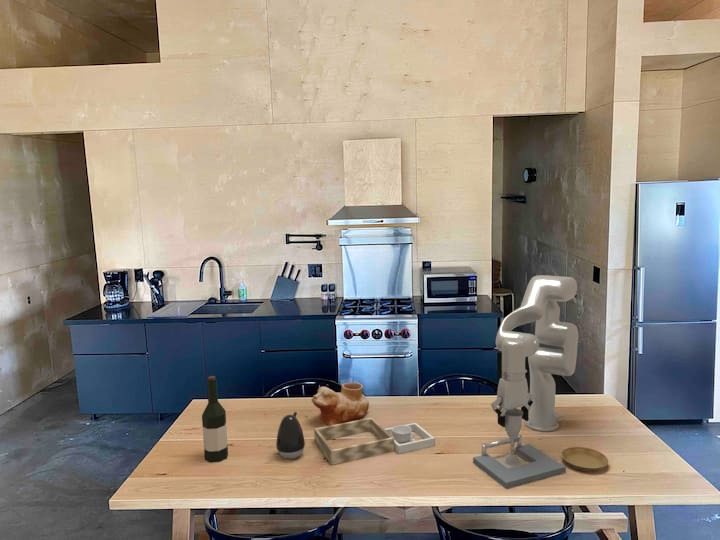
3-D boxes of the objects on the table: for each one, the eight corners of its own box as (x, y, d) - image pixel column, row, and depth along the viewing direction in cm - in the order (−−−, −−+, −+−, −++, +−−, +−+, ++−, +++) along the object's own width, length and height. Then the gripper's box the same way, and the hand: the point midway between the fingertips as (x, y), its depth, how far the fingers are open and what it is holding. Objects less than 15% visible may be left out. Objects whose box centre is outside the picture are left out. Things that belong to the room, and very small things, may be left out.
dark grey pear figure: (310, 450, 194) (308, 411, 192) (297, 464, 184) (296, 422, 182) (285, 446, 197) (283, 408, 195) (271, 460, 188) (269, 419, 185)
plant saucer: (613, 476, 172) (614, 469, 172) (566, 473, 174) (566, 466, 174) (600, 454, 186) (600, 447, 186) (557, 452, 189) (557, 445, 188)
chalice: (523, 468, 178) (524, 416, 175) (502, 466, 179) (503, 415, 177) (521, 457, 185) (522, 408, 182) (501, 456, 186) (502, 407, 184)
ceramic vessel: (305, 420, 221) (304, 385, 219) (358, 405, 235) (357, 373, 233) (321, 432, 209) (320, 395, 207) (376, 416, 223) (375, 381, 221)
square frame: (415, 429, 209) (415, 422, 209) (434, 445, 195) (434, 438, 195) (381, 437, 204) (380, 429, 203) (398, 454, 190) (398, 446, 189)
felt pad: (513, 454, 188) (513, 453, 188) (531, 466, 179) (531, 465, 179) (492, 459, 184) (492, 459, 184) (509, 471, 176) (509, 471, 176)
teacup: (385, 444, 198) (384, 432, 197) (393, 433, 207) (393, 422, 206) (410, 448, 194) (410, 436, 193) (418, 437, 203) (418, 425, 202)
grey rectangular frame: (529, 449, 191) (529, 443, 191) (565, 472, 175) (565, 466, 174) (473, 462, 182) (473, 457, 182) (506, 488, 166) (506, 482, 166)
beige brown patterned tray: (372, 429, 210) (371, 417, 210) (394, 451, 192) (394, 438, 191) (314, 441, 201) (314, 428, 201) (331, 465, 183) (331, 451, 182)
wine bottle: (207, 465, 185) (201, 382, 181) (202, 455, 192) (197, 375, 188) (230, 459, 189) (226, 378, 185) (225, 449, 196) (220, 371, 192)
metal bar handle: (519, 450, 191) (519, 434, 190) (522, 452, 189) (522, 436, 188) (480, 459, 184) (480, 443, 184) (483, 461, 183) (483, 445, 182)
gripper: (526, 367, 184) (526, 413, 187) (485, 375, 178) (485, 423, 181) (541, 373, 177) (540, 421, 180) (499, 383, 171) (499, 432, 174)
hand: (513, 422), depth 180 cm, fingers open, 9 cm apart
